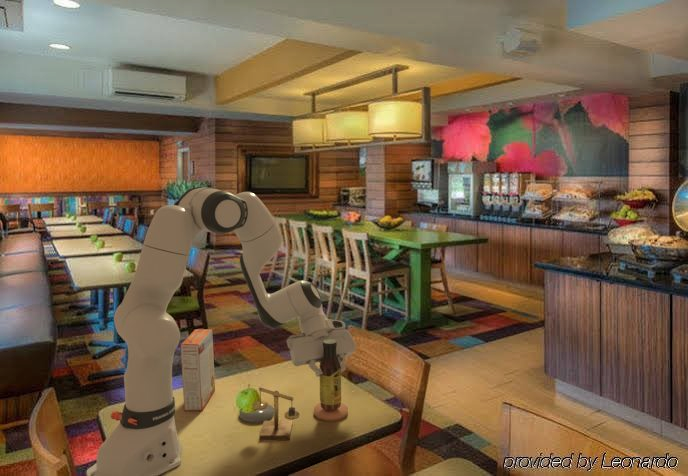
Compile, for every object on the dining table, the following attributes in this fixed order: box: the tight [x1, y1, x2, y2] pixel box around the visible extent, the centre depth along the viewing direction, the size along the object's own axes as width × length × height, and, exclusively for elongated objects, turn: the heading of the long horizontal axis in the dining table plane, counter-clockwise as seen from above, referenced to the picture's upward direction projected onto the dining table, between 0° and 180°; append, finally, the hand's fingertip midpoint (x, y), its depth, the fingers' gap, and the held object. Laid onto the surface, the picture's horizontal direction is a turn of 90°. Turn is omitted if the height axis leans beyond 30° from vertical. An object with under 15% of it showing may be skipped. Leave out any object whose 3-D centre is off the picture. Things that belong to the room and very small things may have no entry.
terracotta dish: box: [313, 402, 349, 422], centre depth 155 cm, size 10×10×1 cm
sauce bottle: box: [319, 339, 342, 410], centre depth 153 cm, size 6×6×20 cm
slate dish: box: [239, 403, 274, 424], centre depth 154 cm, size 10×10×1 cm
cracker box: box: [180, 328, 216, 412], centre depth 161 cm, size 14×6×21 cm, turn 178°
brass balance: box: [252, 387, 300, 441], centre depth 143 cm, size 13×8×13 cm, turn 90°
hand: (331, 373), depth 153 cm, fingers closed on sauce bottle, 6 cm apart
